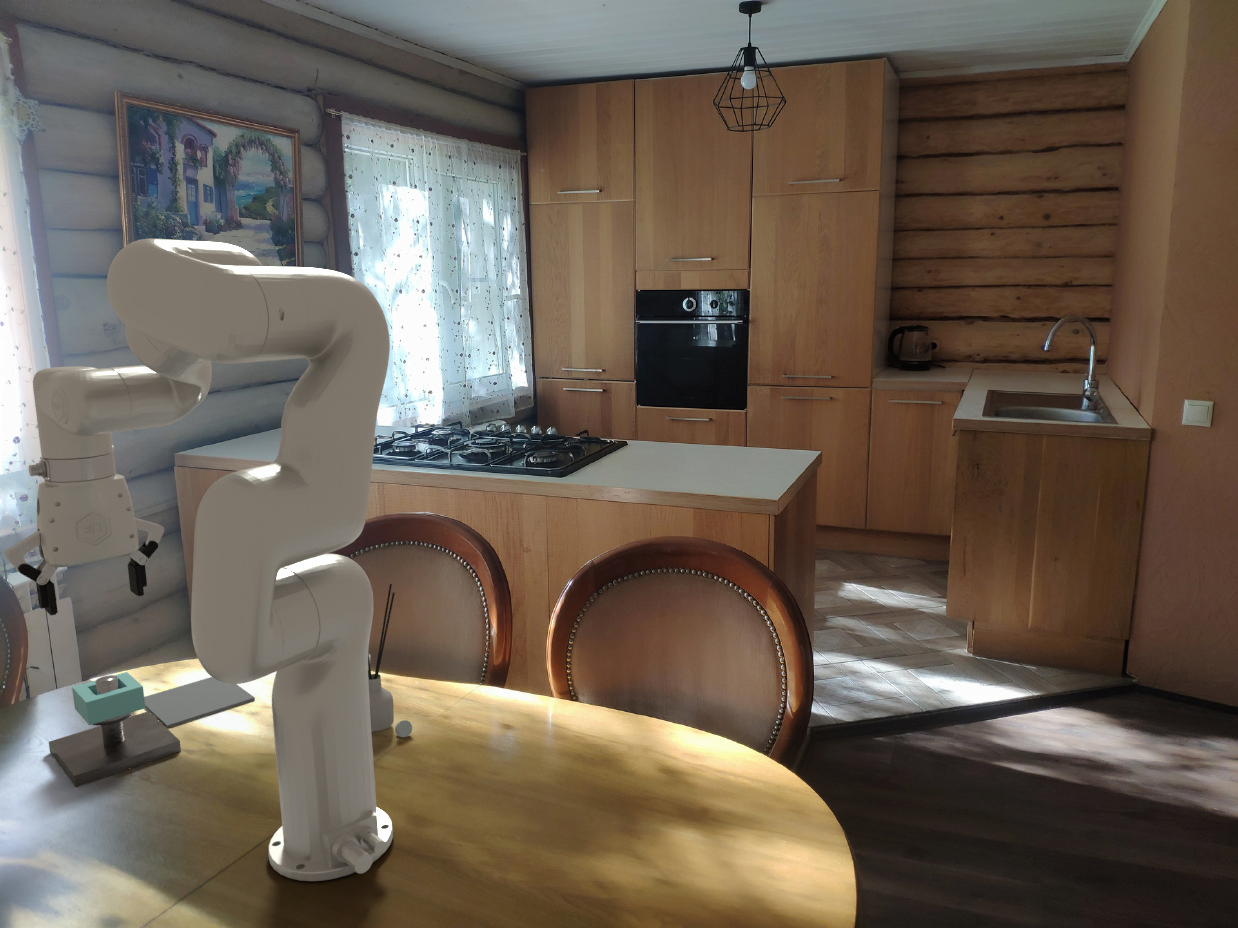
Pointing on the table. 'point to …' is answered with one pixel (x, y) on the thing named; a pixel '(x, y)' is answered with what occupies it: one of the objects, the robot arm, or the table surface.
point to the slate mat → (195, 701)
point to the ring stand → (113, 744)
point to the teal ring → (108, 699)
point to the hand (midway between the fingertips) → (95, 602)
